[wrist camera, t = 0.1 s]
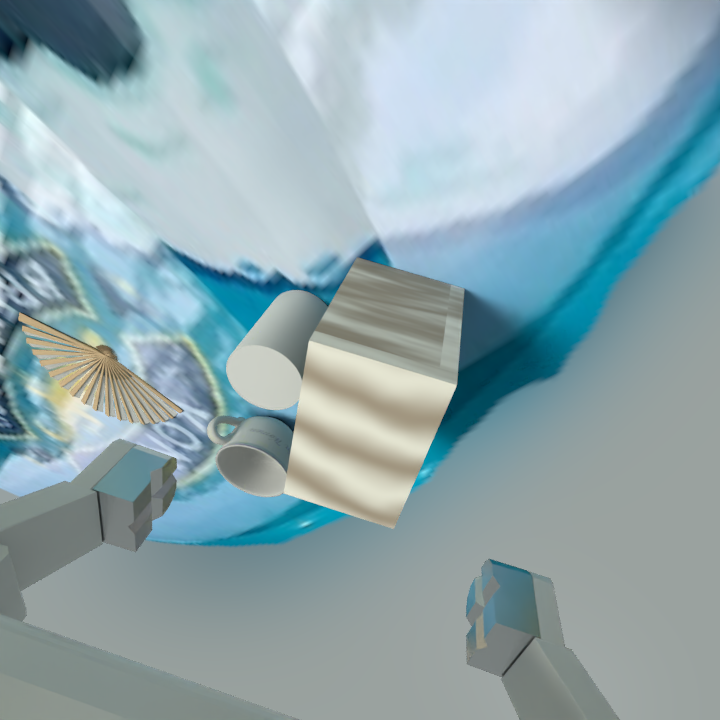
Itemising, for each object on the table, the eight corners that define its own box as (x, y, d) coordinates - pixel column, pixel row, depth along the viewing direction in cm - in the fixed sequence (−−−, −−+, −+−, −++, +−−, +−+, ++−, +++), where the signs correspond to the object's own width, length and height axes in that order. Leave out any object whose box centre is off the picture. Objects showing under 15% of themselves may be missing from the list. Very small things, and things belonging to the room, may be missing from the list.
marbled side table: (357, 257, 49) (308, 340, 36) (464, 288, 49) (456, 385, 35) (327, 392, 61) (283, 493, 48) (413, 419, 61) (393, 529, 47)
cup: (257, 315, 57) (211, 371, 47) (298, 277, 52) (256, 330, 43) (305, 359, 59) (270, 421, 49) (347, 325, 55) (318, 386, 45)
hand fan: (25, 293, 64) (14, 359, 72) (20, 295, 63) (10, 362, 72) (191, 395, 68) (163, 446, 77) (189, 398, 67) (160, 450, 76)
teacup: (320, 449, 68) (303, 491, 62) (266, 465, 73) (246, 506, 67) (265, 379, 63) (240, 418, 56) (211, 402, 68) (182, 440, 61)
